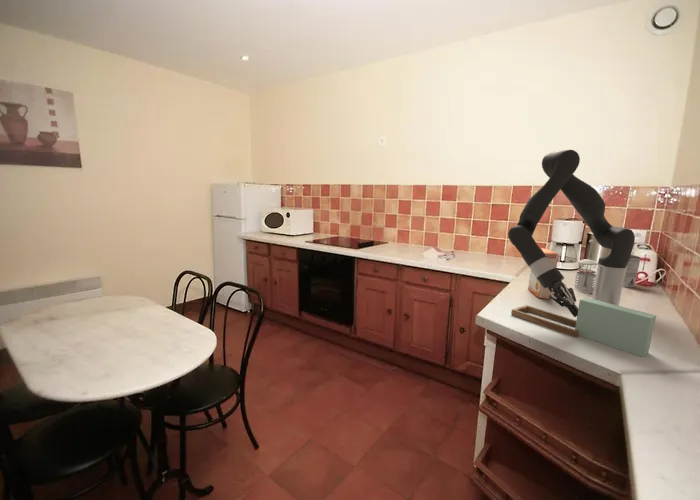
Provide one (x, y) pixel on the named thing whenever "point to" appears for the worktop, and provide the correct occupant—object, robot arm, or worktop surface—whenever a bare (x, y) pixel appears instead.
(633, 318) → the pale green rectangular block
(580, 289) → the french press
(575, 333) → the open frame
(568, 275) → the worktop surface
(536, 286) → the cracker box
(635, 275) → the coffee box
